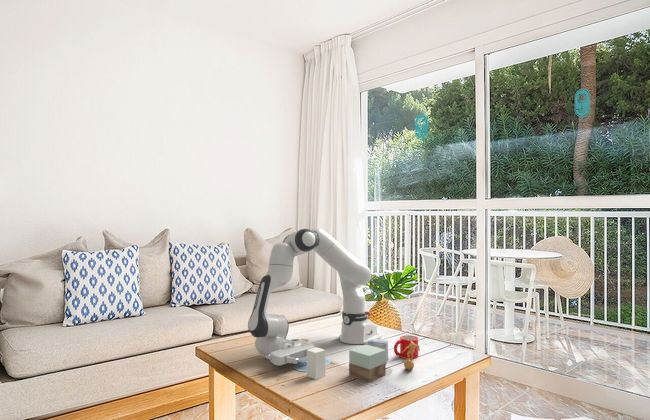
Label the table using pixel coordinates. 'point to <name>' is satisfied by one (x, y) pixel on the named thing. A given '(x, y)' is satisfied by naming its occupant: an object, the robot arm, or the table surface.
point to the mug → (404, 343)
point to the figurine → (409, 363)
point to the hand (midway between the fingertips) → (305, 358)
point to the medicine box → (380, 345)
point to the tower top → (367, 356)
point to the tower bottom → (367, 372)
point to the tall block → (316, 363)
